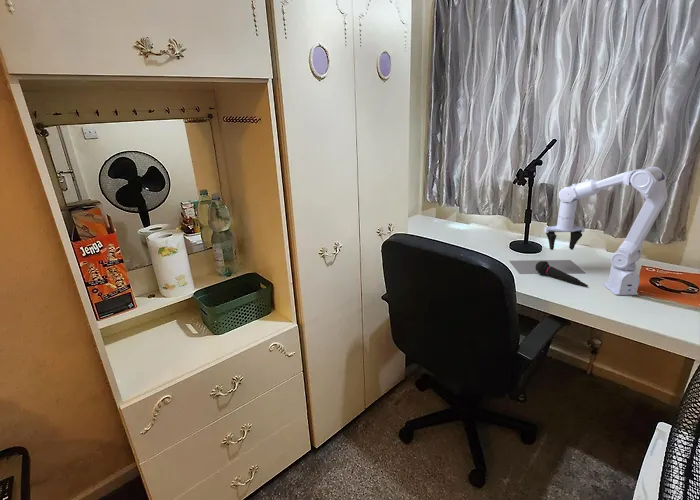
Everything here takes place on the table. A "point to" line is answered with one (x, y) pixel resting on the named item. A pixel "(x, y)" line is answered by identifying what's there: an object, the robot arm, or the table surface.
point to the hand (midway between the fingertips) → (561, 249)
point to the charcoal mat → (561, 265)
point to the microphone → (556, 273)
